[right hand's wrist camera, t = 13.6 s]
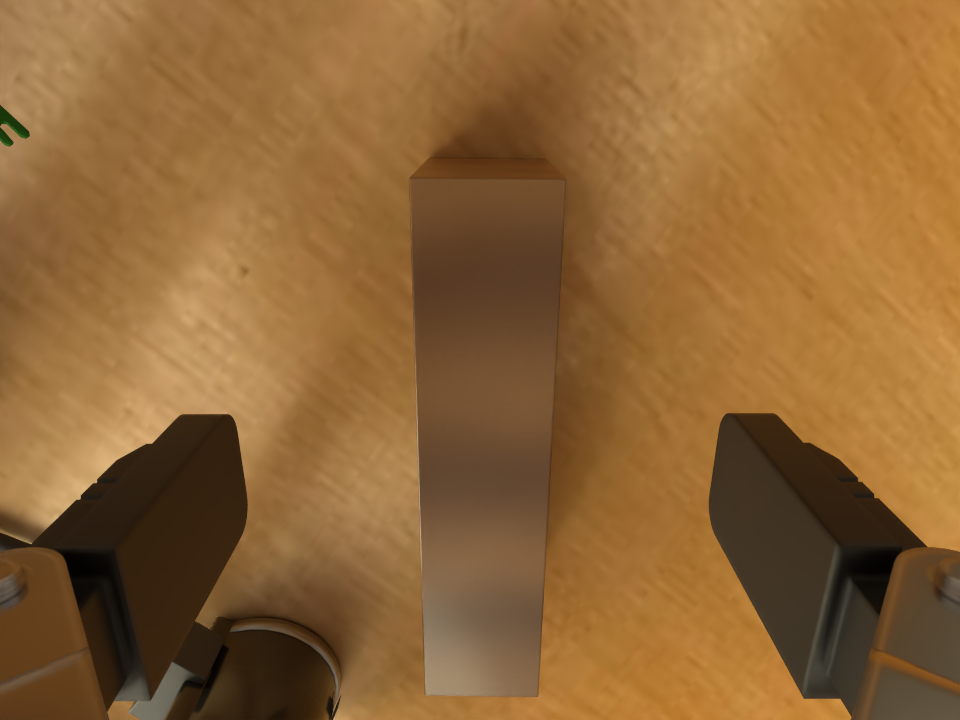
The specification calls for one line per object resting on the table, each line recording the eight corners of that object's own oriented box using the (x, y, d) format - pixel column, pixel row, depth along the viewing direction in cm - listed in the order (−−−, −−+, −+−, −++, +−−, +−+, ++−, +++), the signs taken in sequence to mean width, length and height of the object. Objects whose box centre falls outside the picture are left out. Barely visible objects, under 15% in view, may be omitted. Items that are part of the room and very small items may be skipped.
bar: (428, 157, 32) (408, 177, 24) (546, 158, 32) (566, 178, 24) (436, 579, 41) (424, 695, 33) (528, 580, 41) (538, 697, 33)
